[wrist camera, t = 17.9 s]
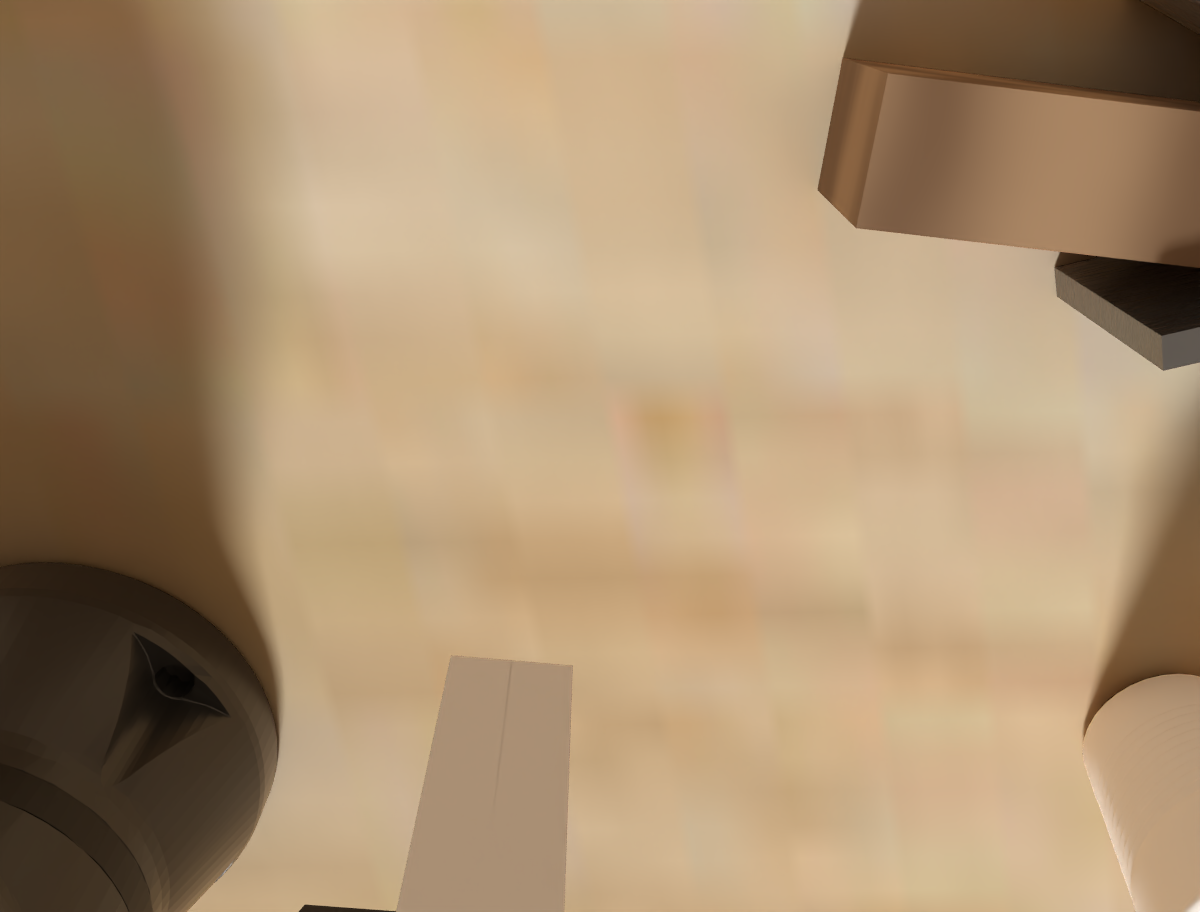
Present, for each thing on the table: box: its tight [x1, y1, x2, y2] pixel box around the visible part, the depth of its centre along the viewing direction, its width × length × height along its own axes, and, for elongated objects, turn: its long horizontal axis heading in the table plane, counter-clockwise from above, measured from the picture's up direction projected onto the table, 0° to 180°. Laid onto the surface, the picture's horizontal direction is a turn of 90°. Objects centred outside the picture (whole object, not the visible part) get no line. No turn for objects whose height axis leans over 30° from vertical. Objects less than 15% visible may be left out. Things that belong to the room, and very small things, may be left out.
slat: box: [818, 58, 1200, 268], centre depth 33 cm, size 18×4×6 cm, turn 83°
